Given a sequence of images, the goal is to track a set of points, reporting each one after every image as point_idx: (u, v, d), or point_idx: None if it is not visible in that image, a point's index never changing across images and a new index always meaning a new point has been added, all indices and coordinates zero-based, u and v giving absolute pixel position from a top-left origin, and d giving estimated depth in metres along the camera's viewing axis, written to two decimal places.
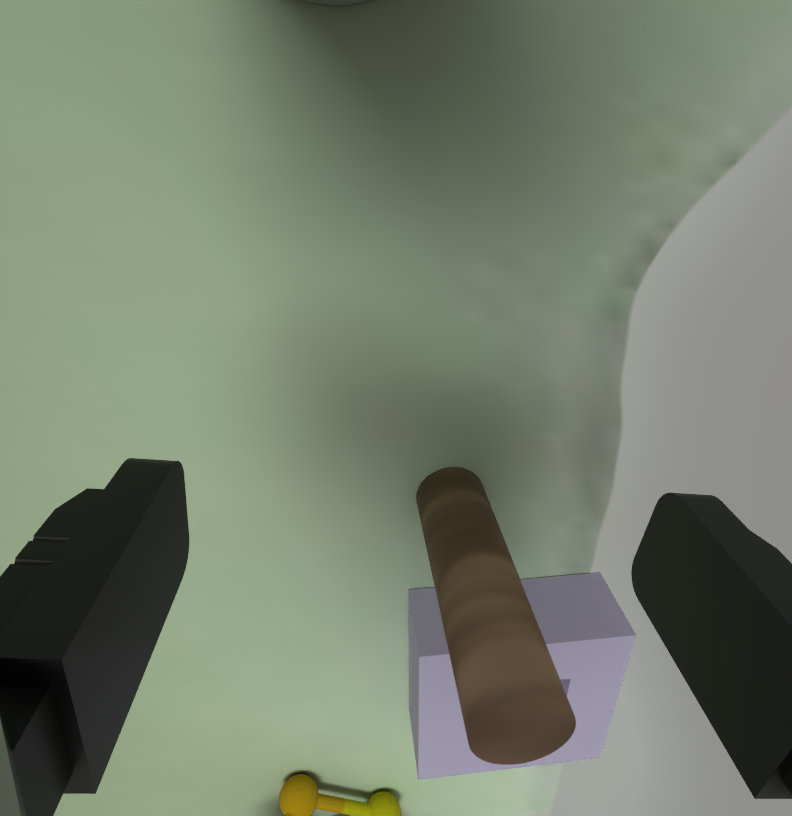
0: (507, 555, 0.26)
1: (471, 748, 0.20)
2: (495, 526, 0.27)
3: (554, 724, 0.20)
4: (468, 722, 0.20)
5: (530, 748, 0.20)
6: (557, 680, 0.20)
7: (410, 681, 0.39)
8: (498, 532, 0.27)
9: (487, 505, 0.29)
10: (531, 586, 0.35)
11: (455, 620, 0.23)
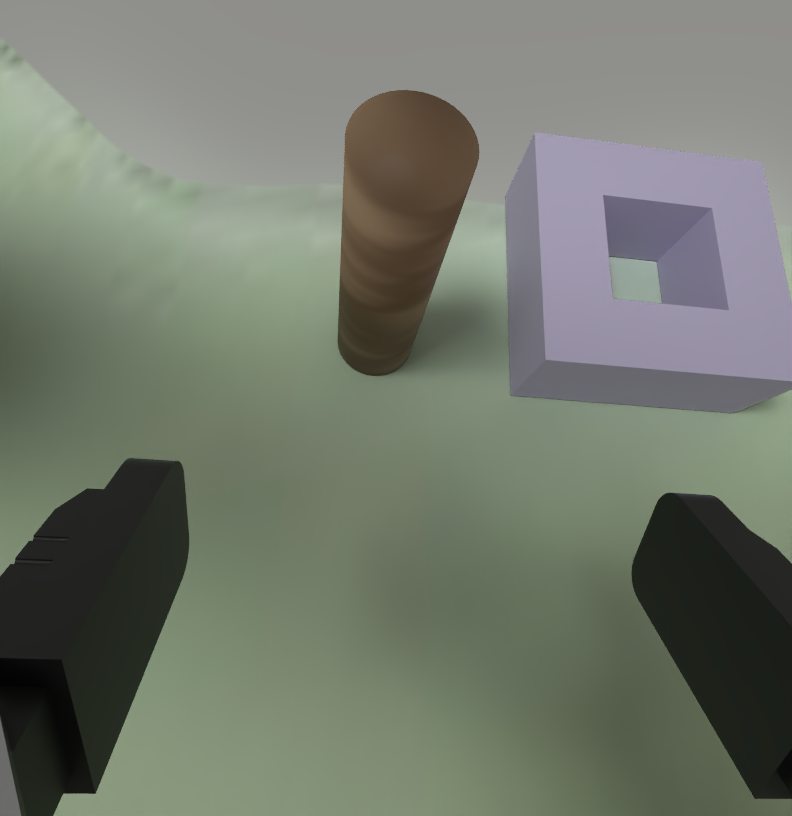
0: None
1: (430, 197, 0.15)
2: None
3: (403, 110, 0.16)
4: (393, 203, 0.16)
5: (447, 137, 0.16)
6: None
7: (664, 402, 0.29)
8: None
9: None
10: (510, 259, 0.31)
11: (363, 267, 0.19)
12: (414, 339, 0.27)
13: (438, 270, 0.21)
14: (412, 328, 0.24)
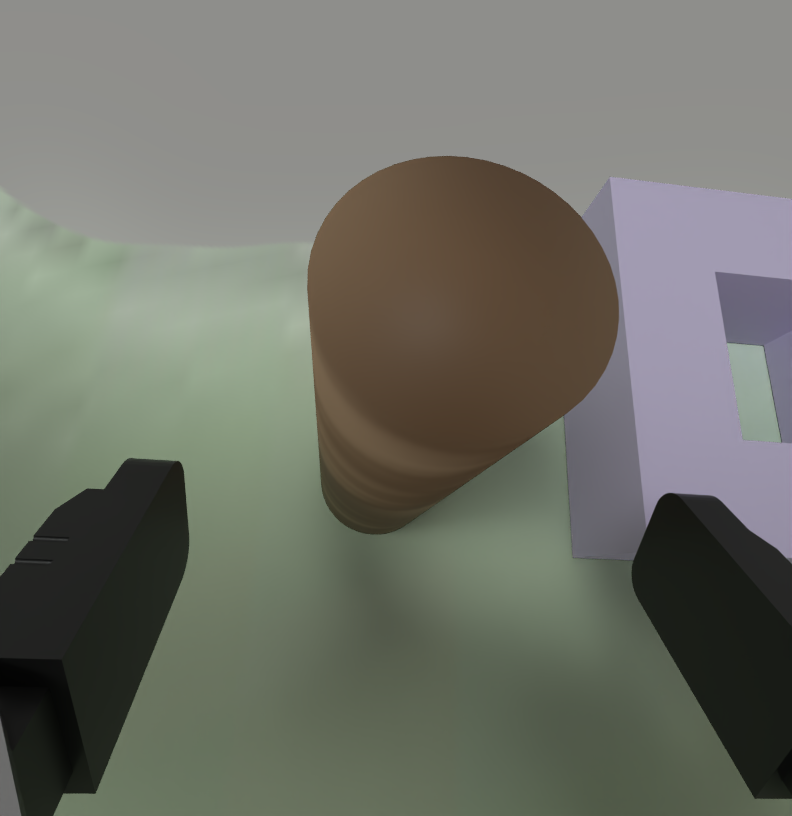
0: None
1: (514, 431, 0.06)
2: None
3: (442, 205, 0.07)
4: (422, 438, 0.06)
5: (545, 265, 0.07)
6: None
7: None
8: None
9: None
10: None
11: (355, 472, 0.10)
12: None
13: None
14: None
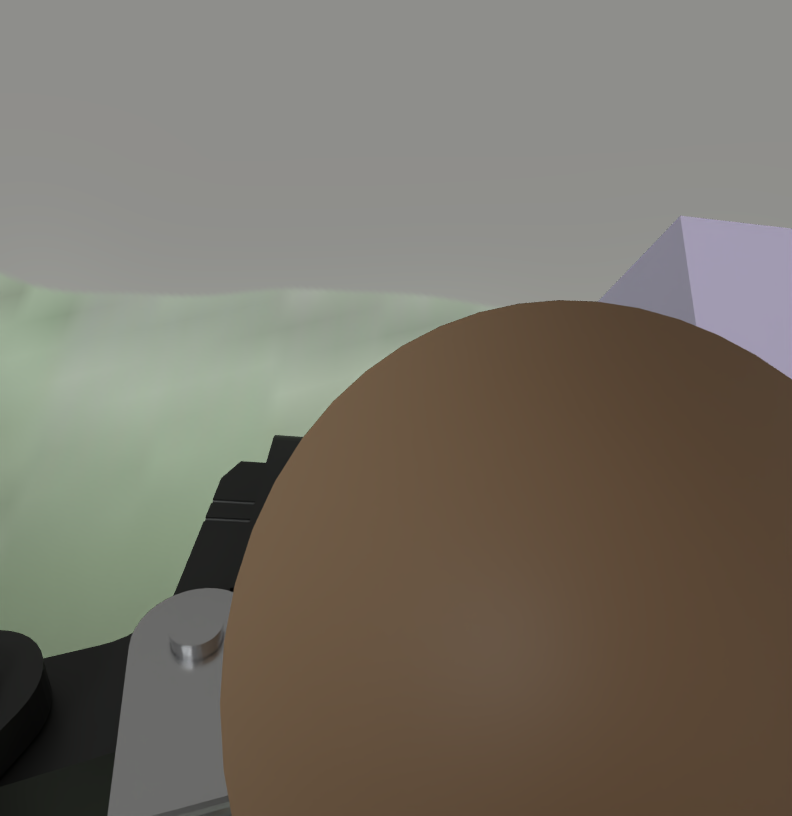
0: None
1: None
2: None
3: (553, 427, 0.03)
4: None
5: None
6: None
7: None
8: None
9: None
10: None
11: None
12: None
13: None
14: None
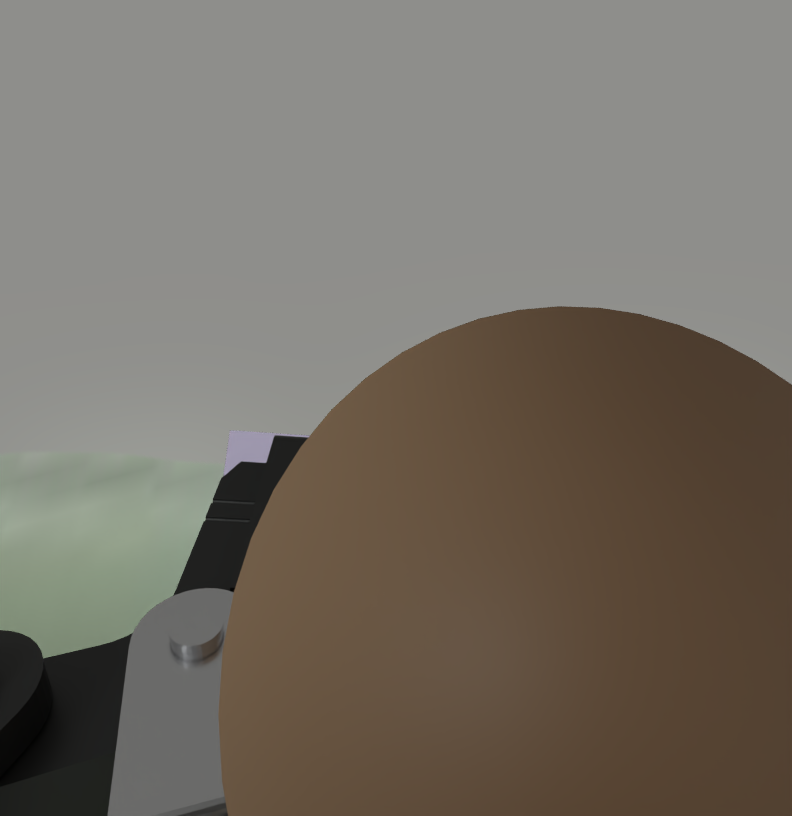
0: None
1: None
2: None
3: (553, 434, 0.03)
4: None
5: None
6: None
7: None
8: None
9: None
10: None
11: None
12: None
13: None
14: None
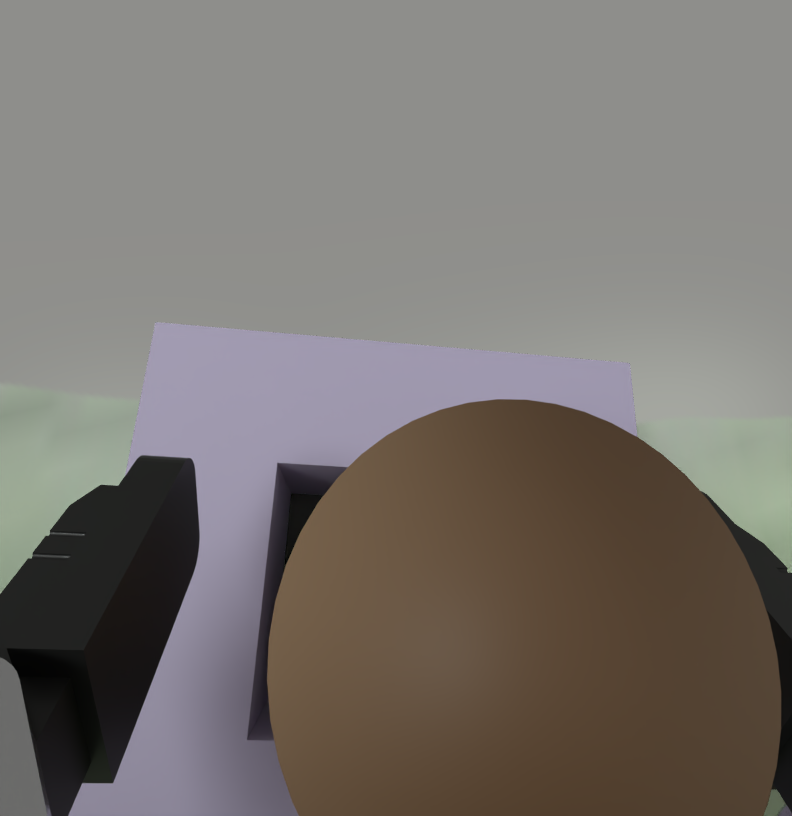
0: None
1: None
2: None
3: (490, 491, 0.04)
4: None
5: (657, 598, 0.04)
6: None
7: None
8: None
9: None
10: None
11: None
12: None
13: None
14: None
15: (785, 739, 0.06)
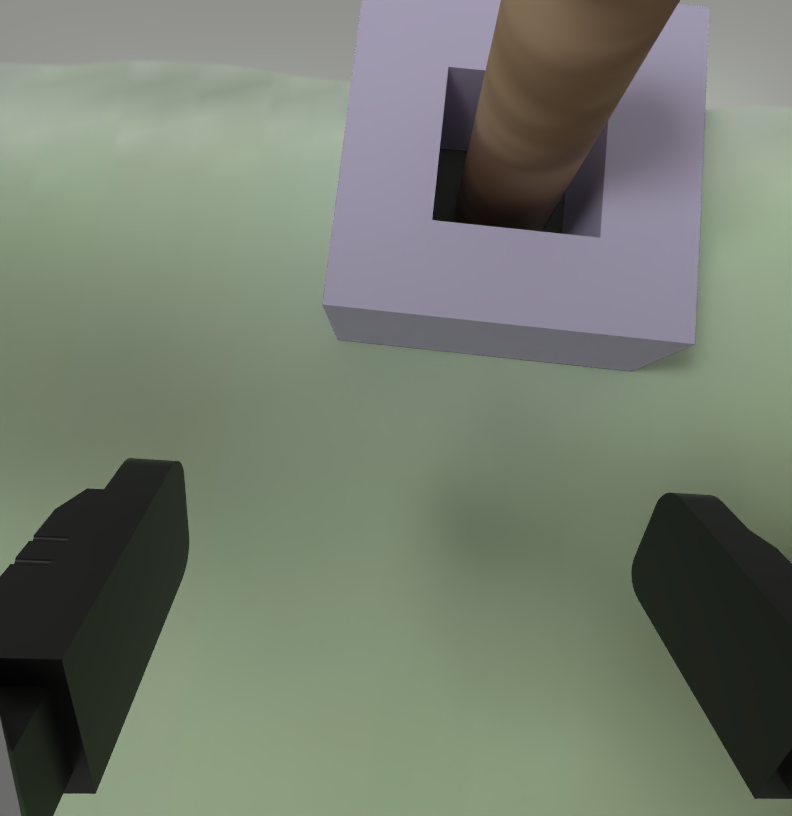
0: None
1: None
2: None
3: None
4: None
5: None
6: None
7: (530, 355, 0.23)
8: None
9: None
10: None
11: (518, 103, 0.15)
12: (550, 215, 0.22)
13: (613, 110, 0.16)
14: (557, 197, 0.20)
15: None
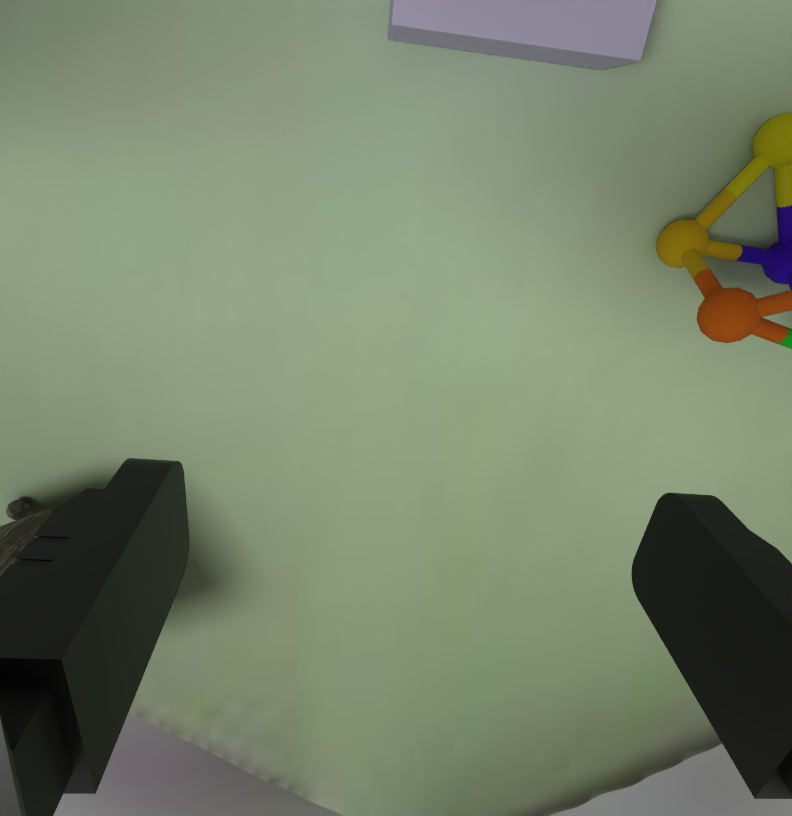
0: None
1: None
2: None
3: None
4: None
5: None
6: None
7: (531, 57, 0.31)
8: None
9: None
10: None
11: None
12: None
13: None
14: None
15: None
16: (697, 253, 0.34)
